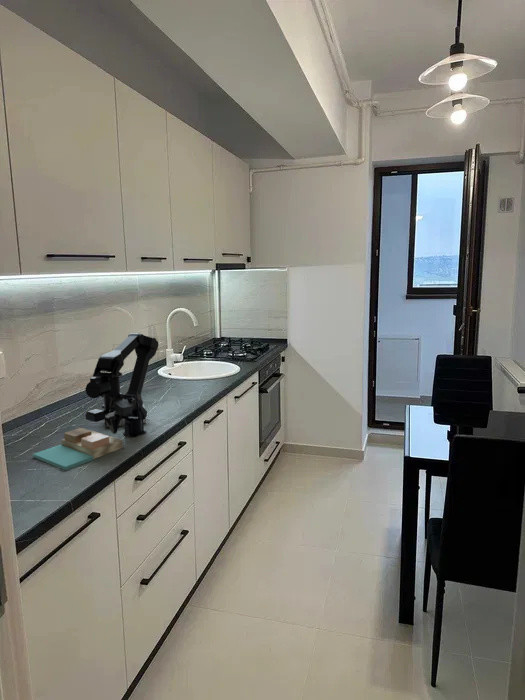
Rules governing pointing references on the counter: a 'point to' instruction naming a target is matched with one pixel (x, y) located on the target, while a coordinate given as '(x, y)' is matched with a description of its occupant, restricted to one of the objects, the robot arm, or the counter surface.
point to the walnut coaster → (76, 435)
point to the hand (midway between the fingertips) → (114, 433)
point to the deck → (97, 452)
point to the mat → (63, 457)
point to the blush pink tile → (95, 441)
